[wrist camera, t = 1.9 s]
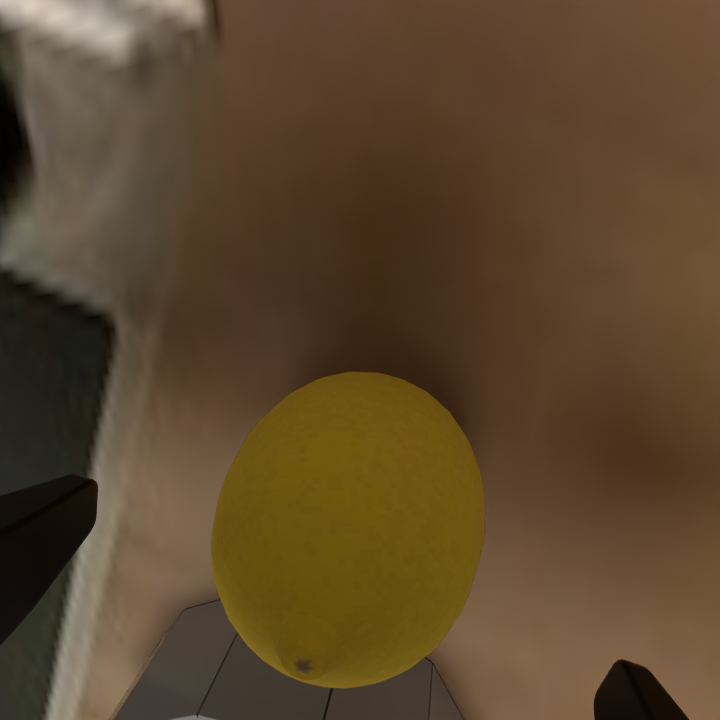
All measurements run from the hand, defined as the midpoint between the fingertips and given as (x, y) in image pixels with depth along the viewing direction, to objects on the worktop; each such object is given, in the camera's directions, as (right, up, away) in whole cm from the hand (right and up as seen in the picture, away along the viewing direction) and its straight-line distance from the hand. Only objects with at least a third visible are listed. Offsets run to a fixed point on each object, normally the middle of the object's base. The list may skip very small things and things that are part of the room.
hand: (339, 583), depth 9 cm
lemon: (+1, +2, +7) cm, 7 cm away
